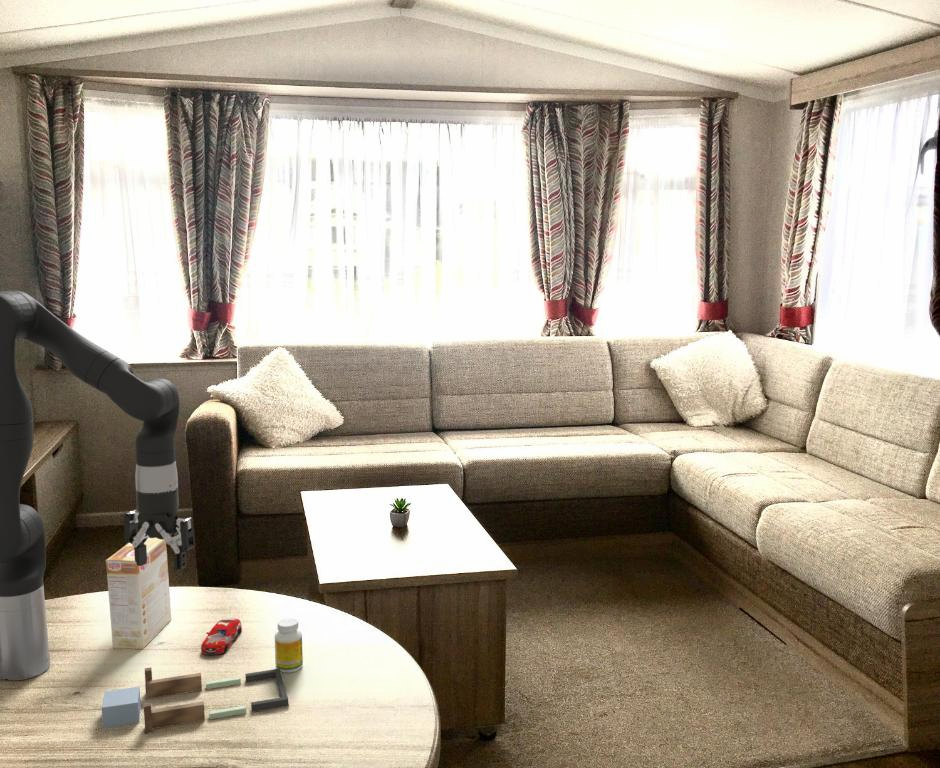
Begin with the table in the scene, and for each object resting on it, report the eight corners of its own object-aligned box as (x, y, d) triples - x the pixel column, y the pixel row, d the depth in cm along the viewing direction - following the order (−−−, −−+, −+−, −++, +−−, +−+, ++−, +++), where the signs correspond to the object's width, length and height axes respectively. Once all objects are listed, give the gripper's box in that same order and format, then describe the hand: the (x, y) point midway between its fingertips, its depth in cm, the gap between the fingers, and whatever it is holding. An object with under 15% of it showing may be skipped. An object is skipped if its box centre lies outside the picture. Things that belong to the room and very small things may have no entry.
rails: (209, 719, 162) (209, 714, 162) (206, 686, 173) (205, 681, 173) (246, 713, 164) (246, 708, 164) (240, 681, 175) (240, 676, 175)
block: (103, 728, 159) (101, 707, 159) (105, 711, 165) (104, 691, 164) (139, 723, 161) (138, 702, 160) (140, 706, 167) (139, 686, 166)
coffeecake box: (142, 618, 204) (136, 535, 201) (172, 619, 204) (167, 536, 200) (110, 648, 189) (104, 559, 186) (143, 649, 189) (137, 560, 186)
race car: (222, 658, 185) (221, 640, 185) (197, 657, 186) (196, 639, 185) (246, 630, 198) (245, 613, 198) (222, 629, 199) (221, 612, 198)
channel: (145, 733, 157) (143, 706, 156) (146, 693, 171) (144, 668, 170) (205, 723, 160) (203, 697, 160) (201, 684, 174) (200, 660, 173)
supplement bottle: (272, 664, 182) (271, 619, 181) (298, 658, 185) (297, 614, 183) (279, 675, 178) (277, 629, 176) (306, 670, 180) (304, 624, 178)
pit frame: (251, 712, 164) (251, 705, 164) (245, 680, 176) (245, 673, 175) (288, 706, 166) (288, 698, 166) (280, 675, 178) (279, 668, 178)
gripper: (112, 486, 169) (116, 569, 172) (176, 495, 164) (180, 579, 167) (138, 476, 176) (142, 556, 179) (201, 484, 172) (204, 565, 174)
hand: (160, 567), depth 173 cm, fingers open, 8 cm apart
